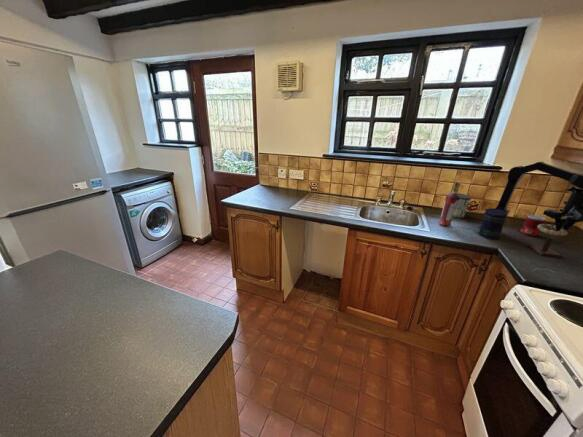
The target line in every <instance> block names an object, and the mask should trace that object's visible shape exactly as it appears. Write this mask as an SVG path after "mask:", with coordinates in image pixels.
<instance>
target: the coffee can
mask: <svg viewBox="0 0 583 437" xmlns="http://www.w3.org/2000/svg"><path fill="white" fill-rule="evenodd" d="M457 195H458V196H459V197H460V200H459V203H458V205H457V208H456V210H455V213H454V215H453V218H465V215H466V212H467V209H468V207H469V205H470V202H471V199H472V197H471V196H470V195H469V194H464V193H458V192H457Z"/></svg>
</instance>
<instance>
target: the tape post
mask: <svg viewBox="0 0 583 437" xmlns="http://www.w3.org/2000/svg"><path fill="white" fill-rule="evenodd" d="M554 239H555V238H554V237H551V236H548V237H547V238H546V240H545V242H544V244H543V245H537V244H528V245H527V248H530V249H531V250H532V251H534V252H535V253H537V254H538V255H540V256H542V257H543V256H546V257H556V258H561V257H562V254H561V253H559V252H558V251H556V250H554V249H552V248H551V247H550V246H551V245H552V243H553V241H554Z"/></svg>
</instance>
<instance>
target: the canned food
mask: <svg viewBox="0 0 583 437" xmlns="http://www.w3.org/2000/svg"><path fill="white" fill-rule="evenodd" d="M546 220H547V219H546V218H545V217H544V216H541V215H536V214H527V215H526V217H525V220H524V221H523V223H522V226H521V229H520V233H521V234H523V235H526V236H528V237H537V236H538V235H539V234H540V232H541V231H539V230H538V229H537V225H540V224H545V222H546Z"/></svg>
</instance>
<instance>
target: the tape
mask: <svg viewBox="0 0 583 437" xmlns="http://www.w3.org/2000/svg"><path fill="white" fill-rule="evenodd" d="M537 229H538V230H539V231H540V232H541V233H543V234H546V235H550V236H555V237H565V236H567V235H568V231H567V230H565V229H563V227H561V229H560V230H559V231H558V230H556V225H555V224H548V223H544V224H540V225H537Z"/></svg>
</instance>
